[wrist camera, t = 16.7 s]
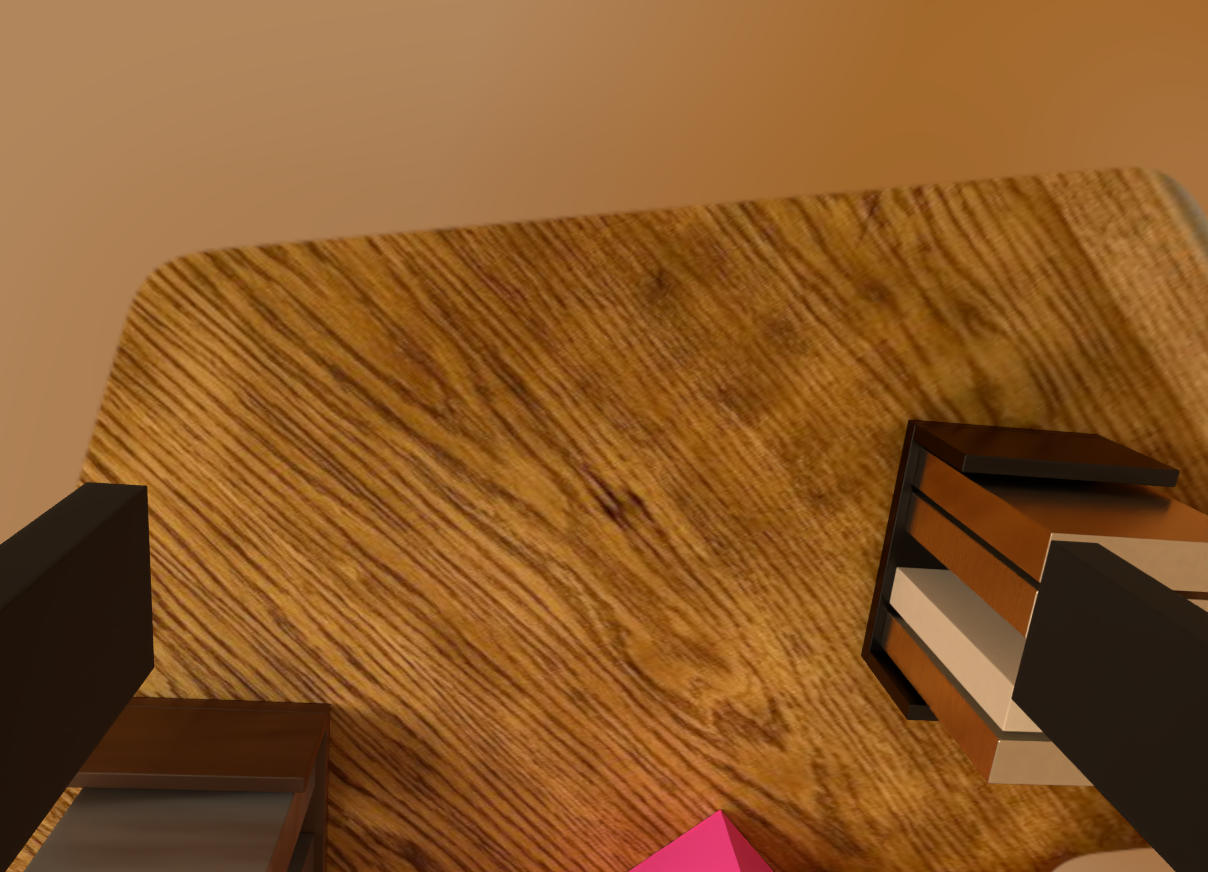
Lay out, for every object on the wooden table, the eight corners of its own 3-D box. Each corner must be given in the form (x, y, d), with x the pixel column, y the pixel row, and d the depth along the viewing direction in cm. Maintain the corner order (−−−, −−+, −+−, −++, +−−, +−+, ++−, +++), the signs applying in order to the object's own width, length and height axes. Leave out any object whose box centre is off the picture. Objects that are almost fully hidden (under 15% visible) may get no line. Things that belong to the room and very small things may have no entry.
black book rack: (908, 419, 43) (1046, 504, 32) (1098, 434, 45) (1295, 520, 33) (860, 656, 47) (970, 807, 36) (1038, 663, 48) (1198, 812, 37)
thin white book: (896, 566, 45) (1014, 686, 34) (1063, 576, 46) (1227, 694, 35) (888, 602, 45) (1002, 731, 35) (1054, 611, 46) (1212, 738, 36)
